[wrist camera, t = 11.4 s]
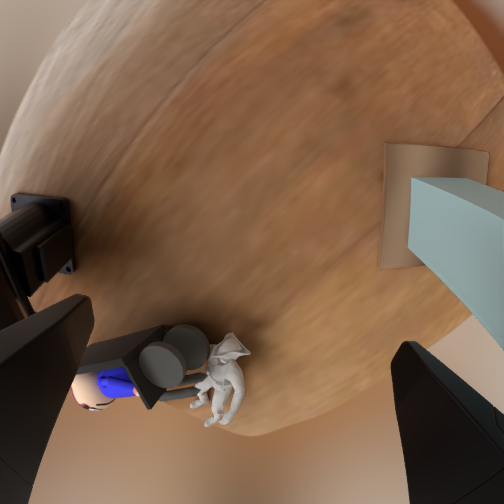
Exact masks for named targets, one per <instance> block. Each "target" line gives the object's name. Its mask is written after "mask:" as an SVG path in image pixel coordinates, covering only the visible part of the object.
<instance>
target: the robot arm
mask: <svg viewBox="0 0 504 504" xmlns="http://www.w3.org/2000/svg"><path fill="white" fill-rule="evenodd" d="M15 199H16V200H15ZM62 203H63V205H64V207H63V206H62ZM11 208H12V212H11V213H9V214H8V215H6V216H5V217H3V218H1V219H0V504H28V502H29V498H30V495H31V491H32V488H33V486H32V485H33V484H34V481H35V478H36V475H37V472H38V469H39V466H40V463H41V460H42V457H43V454H44V452H45V449H46V446H47V443H48V441H49V438H50V435H51V433H52V430H53V428H54V425H55V423H56V420H57V418H58V415H59V413H60V410H61V408H62V406H63V403H64V401H65V399H66V396H67V394H68V392H69V389H70V387H71V385H72V383H73V381H74V378H75V376H76V374H77V372H78V369H79V366H80V364H81V361H82V358H83V355H84V352H85V349H86V346H87V344H88V341H89V338H90V335H91V333H92V330H93V327H94V315H93V309H92V303H91V299H90V298H89V297H88V296H85V295H81V294H75V295H73V296H70V297H68V298H66V299H64V300H62V301H60V302H58V303H56V304H54V305H52V306H50V307H48V308H45V309H43V310H41V311H39V312H35V311H34V309H33V307H32V305H31V303H30V301H29V299H28V297H31V296H32V295H33V294H34V293H35V292H36V291H37V290H38V289H39V287H40V286H41V285H42V284H43V283H44V282H46V283H47V282H49V281H50V280H51V279H52V278H53V277H54V275H55V274H56V273H57V272H60V273H65V274H69V275H71V274H73V273H74V271H75V262H74V250H73V241H72V231H71V225H70V212H69V202H68V200H67V199H65V198H60V197H51V196H41V195H31V194H20V193H15V194H13V195H12V196H11ZM69 268H70V269H69ZM27 296H28V297H27ZM391 375H392V382H393V392H394V402H395V410H396V415H397V421H398V426H399V432H400V437H401V443H402V449H403V455H404V462H405V469H406V475H407V483H408V492H409V501H410V504H504V414H503V413H501V412H500V411H499V410H498V409H497V408H496V407H493V405H492V404H491V403H490V402H489V401H487V400H486V399H485V398H484V397H483V396H481V395H480V394H479V393H478V392H477V391H475V390H474V389H473V388H472V387H471V386H469V385H468V384H467V383H466V382H465V381H464V380H462V379H461V378H460V377H459V376H458V375H456V374H455V373H454V372H453V371H452V370H450V369H449V368H448V367H447V366H446V365H444V364H443V363H442V362H441V361H439V360H438V359H437V358H436V357H435V356H433V355H432V354H431V353H430V352H428V351H427V350H426V349H425V348H423V347H422V346H421V345H420V344H418V343H417V342H415V341H404V342H403V343H402V344H401V345H400V347H399V349H398V351H397V352H396V354H395V356H394V357H393V359H392V362H391Z"/></svg>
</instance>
